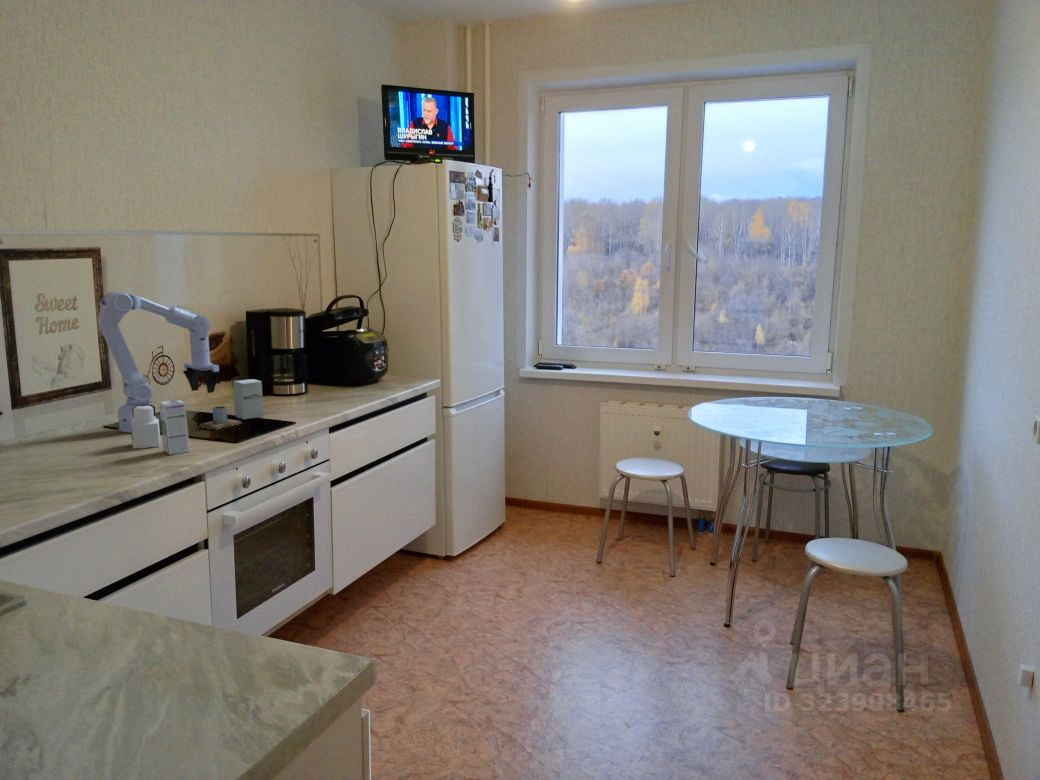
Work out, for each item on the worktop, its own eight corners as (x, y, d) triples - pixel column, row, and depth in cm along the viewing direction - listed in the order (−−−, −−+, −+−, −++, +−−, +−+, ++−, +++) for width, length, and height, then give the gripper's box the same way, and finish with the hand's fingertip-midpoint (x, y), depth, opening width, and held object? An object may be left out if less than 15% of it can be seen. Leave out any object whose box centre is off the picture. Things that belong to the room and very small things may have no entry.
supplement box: (243, 420, 262) (240, 383, 260) (234, 416, 268) (232, 380, 266) (264, 417, 267) (262, 380, 265) (255, 413, 273) (253, 378, 270)
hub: (220, 424, 250) (219, 409, 249) (210, 423, 252) (209, 408, 251) (230, 422, 254) (229, 407, 253) (221, 420, 256) (220, 405, 255)
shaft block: (217, 430, 247) (215, 413, 246) (199, 427, 251) (198, 411, 250) (241, 424, 256) (240, 408, 255) (224, 422, 259) (223, 405, 258)
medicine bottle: (134, 443, 230) (130, 404, 228) (160, 441, 233) (157, 402, 231) (132, 449, 224) (129, 408, 221) (159, 446, 226) (156, 406, 224)
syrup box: (190, 452, 221) (186, 402, 218) (168, 455, 217) (164, 404, 214) (184, 448, 225) (180, 399, 222) (162, 451, 221) (158, 401, 219)
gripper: (225, 351, 258) (227, 391, 260) (195, 348, 265) (197, 387, 267) (207, 353, 252) (210, 394, 254) (177, 350, 259) (180, 390, 261)
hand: (203, 391), depth 260 cm, fingers open, 7 cm apart
